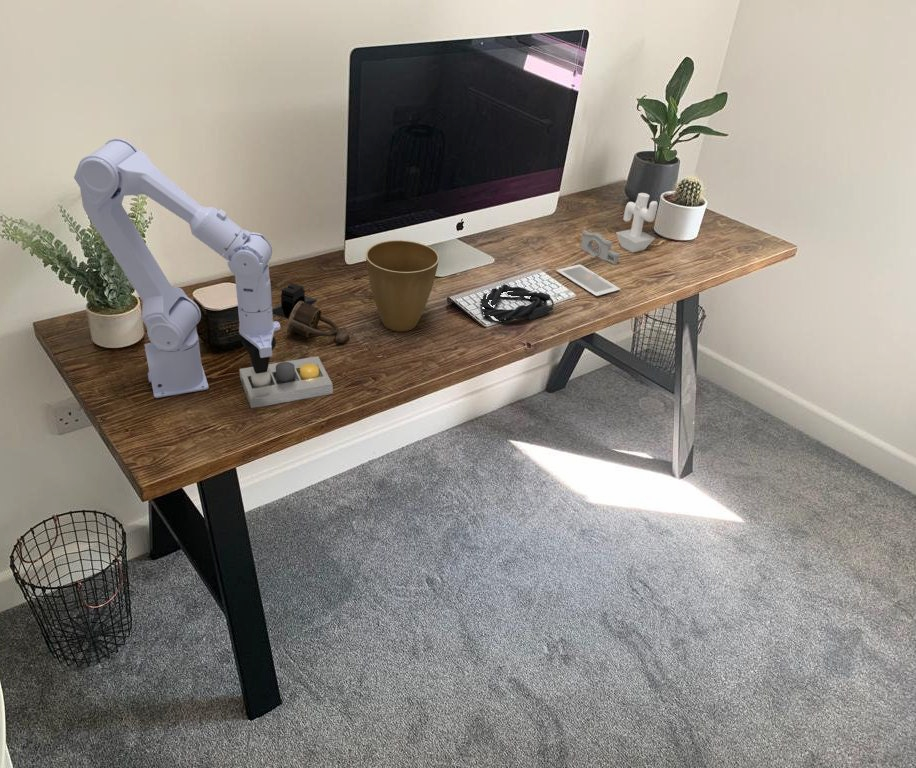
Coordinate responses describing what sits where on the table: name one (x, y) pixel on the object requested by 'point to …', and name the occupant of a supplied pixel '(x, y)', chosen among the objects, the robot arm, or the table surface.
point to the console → (287, 385)
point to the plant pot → (401, 281)
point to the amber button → (309, 371)
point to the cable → (520, 312)
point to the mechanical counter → (312, 322)
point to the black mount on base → (291, 300)
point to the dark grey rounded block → (285, 372)
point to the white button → (260, 379)
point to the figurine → (637, 224)
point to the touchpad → (588, 280)
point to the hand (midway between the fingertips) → (260, 370)
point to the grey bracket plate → (603, 247)
